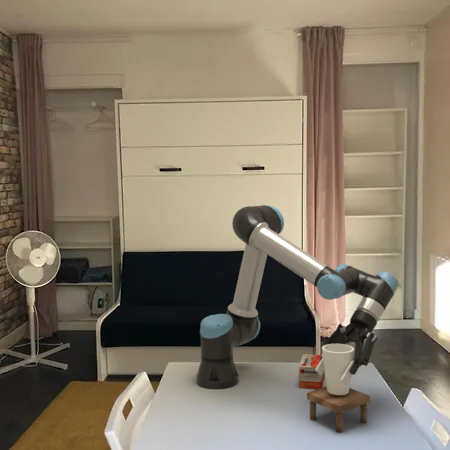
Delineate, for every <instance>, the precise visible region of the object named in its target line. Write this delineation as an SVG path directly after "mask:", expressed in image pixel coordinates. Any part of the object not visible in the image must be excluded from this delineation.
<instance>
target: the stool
mask: <svg viewBox="0 0 450 450" xmlns="http://www.w3.org/2000/svg"><path fill="white" fill-rule="evenodd" d="M306 400H308V401H309V416H310V417H309V419H310V420H311V421H316V420H317V405H319V406H322V407H324V408H326V409H329V410H331V411H333V412H335V432H336V433H343V413H344V412H347V411H349V410H352V409H355V408H358V407H359V409H360V412H359V413H360V415H359V416H360V417H359V419H360V423H362V424H366V423H367V422H368V421H367V420H368V419H367V411H368V408H367V404H369V403H370V402H371V395H370V394H366V393H364V392H362V391H359V390H356V389H354V388H350V387H349V393H347V394H345V395H334V394H331V393H329V392H328V391H327V386H324V387H323V386H322V388H320V389H313V390H311V391H308V392H306Z"/></svg>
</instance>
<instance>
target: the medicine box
mask: <svg viewBox="0 0 450 450" xmlns="http://www.w3.org/2000/svg"><path fill="white" fill-rule="evenodd" d="M321 356H322V354H310V353H307V354H305V353H303V354H302V356H301V360H300V362H299V365H298V380H299V381H298V384H299V387H298V388H300V389H311V390H312V389H313V390H317V389H320V388H323V386H324V380H325V371H324V372H323V373H322V375H319V374H318V373H317V371H316V370H315V369H316V367H317V366H318V364H319V362H320V361H319V360H320V358H321Z"/></svg>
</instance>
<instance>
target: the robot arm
mask: <svg viewBox="0 0 450 450" xmlns="http://www.w3.org/2000/svg"><path fill="white" fill-rule="evenodd" d="M231 225H232V231H233V232H234V234H235V236H236V237H238V239H239V240H240V241H241V242H243V243H245V247H244V251H243V255H242V260H241V264H240V269H239V274H238V278H237V279H238V280H237V283H236V286H235V287H236V288H235V292H234V297H233V301H232V303H231V304H229V305H228V307H227V311H226V313H217V314H211V315H208V316H206V317H205V318H204V317H203V319H202V320H201V322H200V327H199V328H200V329H199V335H200V337H199V339H200V363H199V367H198V371H197V373H196V384H197V385H198V386H200V387H202V388H205V389H206V388H207V389H214V390H215V389H216V390H217V389H218V390H219V389H225V388H226V389H227V388H231V387H234V386H236V385H237V384H238V383H239V373H238V370H237V368H236V364H235V361H234V348H237V347H238V346H241V345H244V344H248V343H249V342H251V341H252V340H254V339H256V337H257V336H258V335H259V333H260V330H261V321H260V320H259V319H260V318H259V312H258V310H257V309H256V307H257V306H256V305H257V303H258V297H259V292H260V288H261V285H262V279H263V275H264V270H265V265H266V262H267V258H268V256H269V257H271V258H273V259H274V260H276V261H277V262H278V263H280V264H281V265H283V266H284V267H286V268H288V270H290V271H292V272H293V273H294V274H296V275H297V276H300V278H303V279H304V280H305V281H306V282H308V283H309V284H311V285H313V286H314V287H315V288H316V290H317V293H318V294H319V296H320V297H322V298H323V299H325V300H328V301H329V300H336V299H340V298H341V297H343V296H345V295H349V294H351V293H354V294H356V295H359V296H361V297H362V298H361V300H360V302H359V303H358V305H357V307H356V310H354V311H353V314H352V315H351V317H350V319H349V324H348V325H343V324H341V323H339V324H338V325H337V327H336V329H335V331H334V332H333V333H332V334H331V335H330V336H329V337H328V338H327V339H326V340H325V341H324V342H323V343H322V345H321V346H320V348H321V350H322V346H324V345H327V344H345V345H347V344H349V343H354V345H355V347H354V358H353V361H352V360H351V362H350V363H349V365H348V367H347V369H346V370H345V372H344V374H343V376H342V377H341V381H342V382H343V383H344V384H345V385H347V384H348V382H349V381H350V382H351V380H352V379H351V378H353V376H355V375H356V374H357V372H358V370H359V368H360V367H362V366H365V367H366V366H368V365H369V361H370V358H371V355H372V351H373V349H374V345H375V343H376V342H377V340H378V336H376V334H375V333H374V330H375V328H376V326H377V324H378V322H379V320H380V318H381V317H382V315H383V314H384V312H385V311H386V309H387V307H388V305H389V304H390V302H391V300H393V298H394V297H393V296H394V295H395V292H396V291H397V289H398V287H399V284H400V283H399V280H398V279H397V277H396V276H394V274H392V273H390V272H388V271H382V270H380V271H378V272H377V273H376V274H375V275H373V274H371V273H368V272H365V271H363V270H361V269H358V268H356V267H354V266H353V265H348V264H345V263H340V264H338V265H337V266H336V267H335V269H333V268H332V267H330V266H329V265H327V264H325V263H324V262H323V261H321V260H319V259H318V258H317V257H314V256H313V255H312V254H310V253H308V252H307V251H305V250H304V249H302V248H300V247H299V246H297V245H296V244H294V243H292V242H291V241H290V240H289V239H286V238H285V237H284V236H282V235H280V234H281V233H282V232H283V231H284V226H285V220H284V217H283V215H282V213H281V211H280V210H279V209H278V208H277V207H275V206H273V205H266V204H261V205H253V206H251V205H250V206H243V207H241V208H240V209H238V210H237V211H236V212H235V214H234V215H233V217H232V222H231ZM319 361H320V362H319V364H318V366H317V367H316V369H315V370H316V371H317V373H318V374H319V375H322V373H323V372H324V363H323V357H322V356H321V358H320V360H319Z"/></svg>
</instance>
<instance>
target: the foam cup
mask: <svg viewBox="0 0 450 450" xmlns="http://www.w3.org/2000/svg"><path fill="white" fill-rule="evenodd" d="M321 346H322V345H321ZM321 355H322V357H323V363H324V371H325V376H324V379H325V384H326V386H327V391H328V392H329V393H331V394H334V395H345V394H347V393H349V388H350V385H351V380H350V381H349V382H348V384H347V385H345V384H344V383H343V382H342V381H341V377H342V376H343V374H344V372H345V370H346V369H347V367H348V365H349V363H350V362H351V360H352V361H354V360H353V359H354V357H355V347H353V346H351V345H349V344H327V345H324V346H322V349H321ZM326 386H325V387H326Z"/></svg>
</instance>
